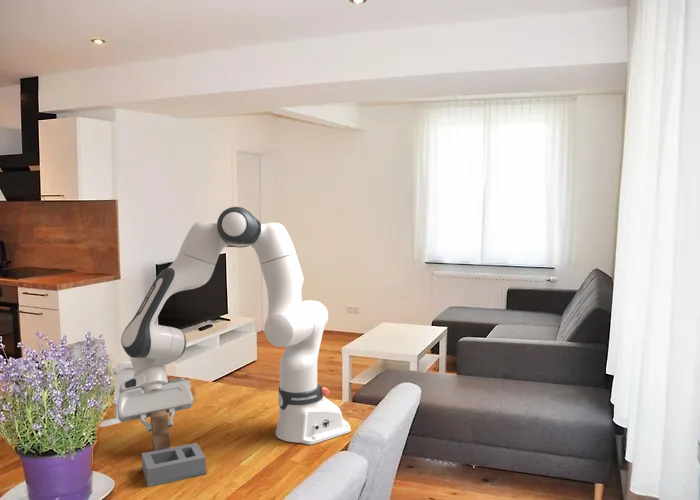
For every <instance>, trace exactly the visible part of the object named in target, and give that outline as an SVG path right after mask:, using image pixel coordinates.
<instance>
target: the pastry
mask: <svg viewBox="0 0 700 500" xmlns="http://www.w3.org/2000/svg"><path fill="white" fill-rule="evenodd" d="M190 391H191V393H192V396H193V401H194V400H195V398H196V395H197V392H196V389H195V387H193V386H191V389H190Z"/></svg>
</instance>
